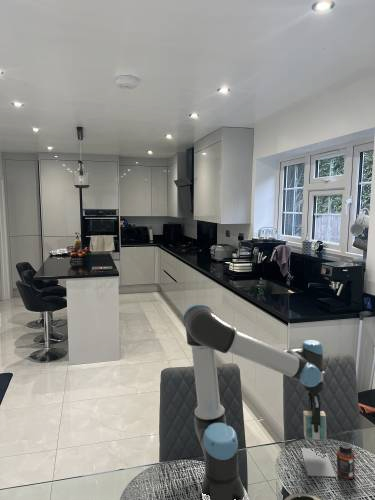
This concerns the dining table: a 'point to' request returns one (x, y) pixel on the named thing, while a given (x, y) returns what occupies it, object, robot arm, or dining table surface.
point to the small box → (309, 426)
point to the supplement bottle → (345, 461)
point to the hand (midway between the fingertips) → (314, 435)
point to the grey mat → (317, 464)
